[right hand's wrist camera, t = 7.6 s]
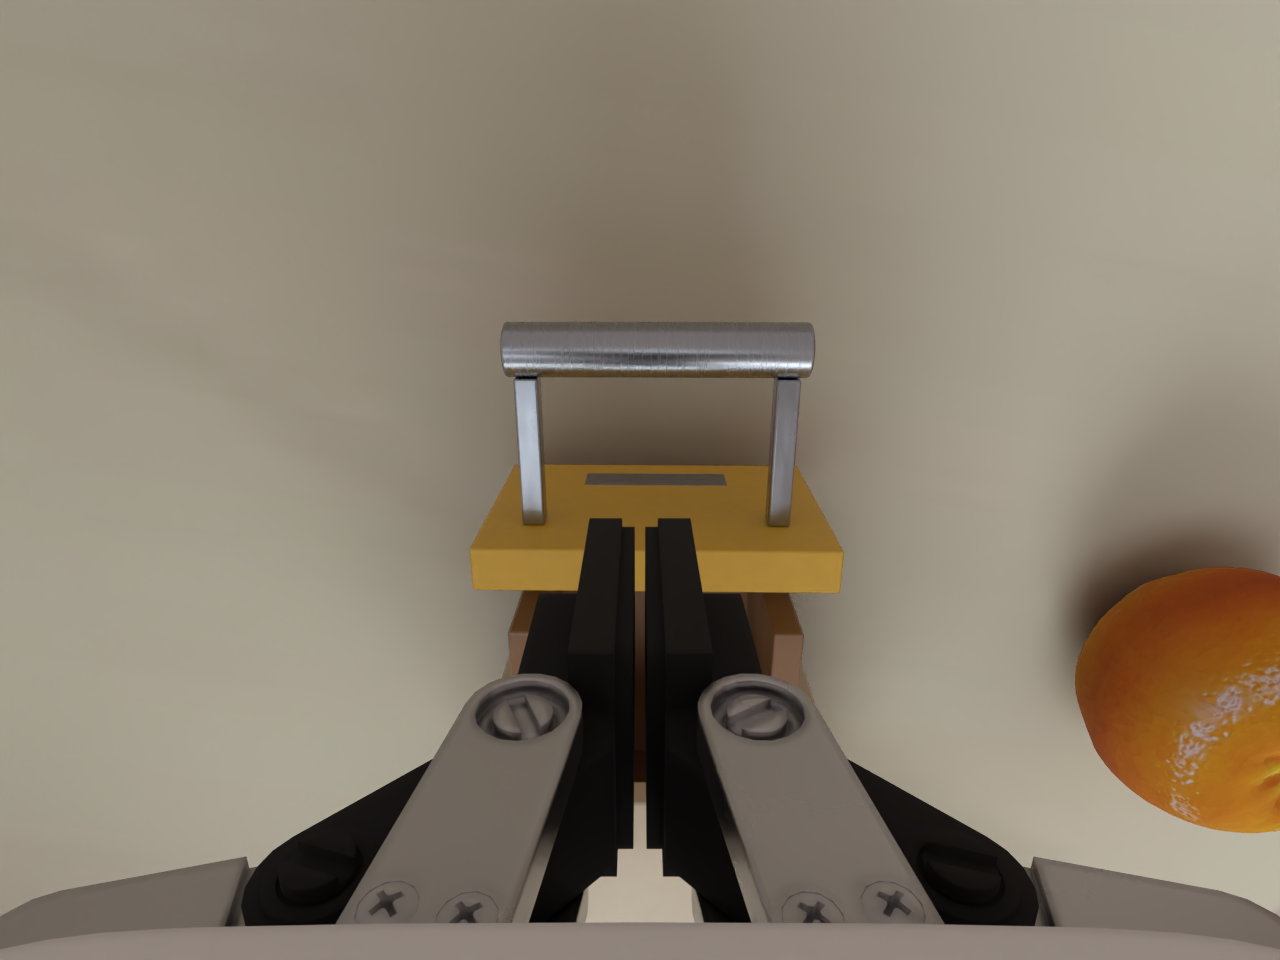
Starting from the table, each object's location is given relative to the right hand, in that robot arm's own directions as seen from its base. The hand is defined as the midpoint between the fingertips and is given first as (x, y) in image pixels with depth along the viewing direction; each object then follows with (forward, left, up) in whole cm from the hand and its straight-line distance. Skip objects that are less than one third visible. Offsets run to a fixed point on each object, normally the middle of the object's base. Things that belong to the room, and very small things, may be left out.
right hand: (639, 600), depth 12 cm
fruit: (+8, +19, -14) cm, 25 cm away
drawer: (+5, +1, -12) cm, 13 cm away
